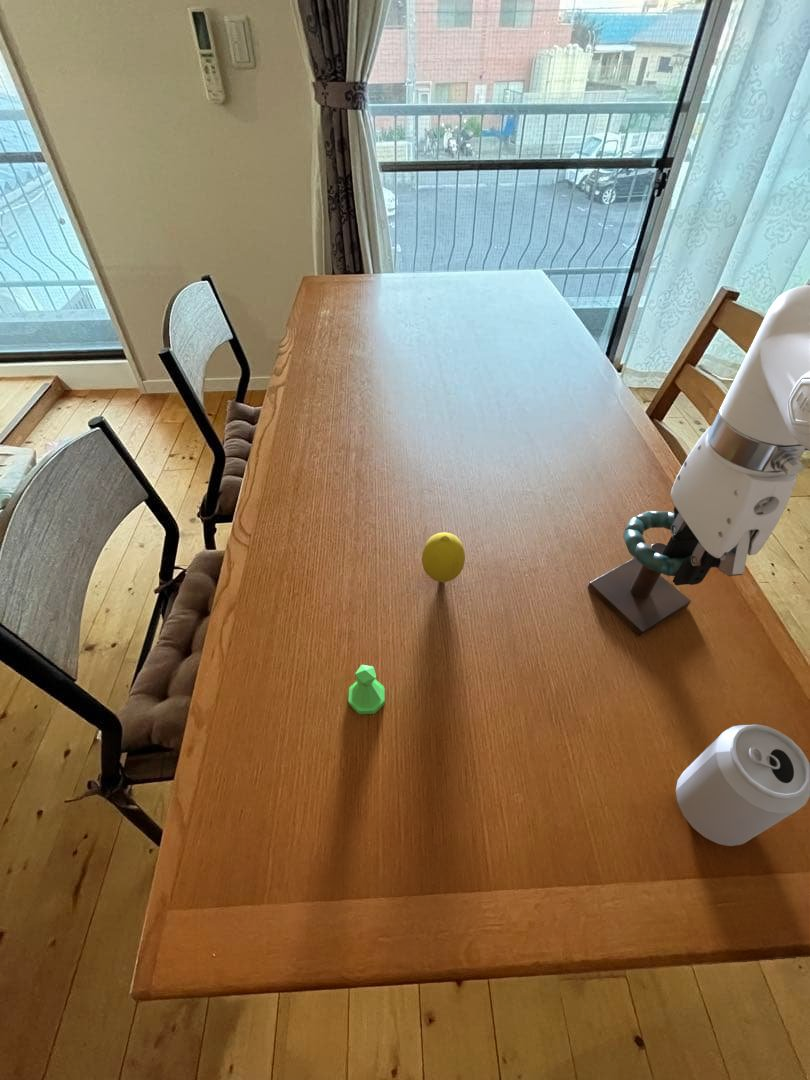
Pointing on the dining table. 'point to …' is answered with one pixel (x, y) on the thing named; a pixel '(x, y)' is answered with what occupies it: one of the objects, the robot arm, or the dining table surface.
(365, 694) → the game piece
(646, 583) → the post
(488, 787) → the dining table surface
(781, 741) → the can
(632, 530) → the ring
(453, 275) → the dining table surface
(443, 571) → the lemon
